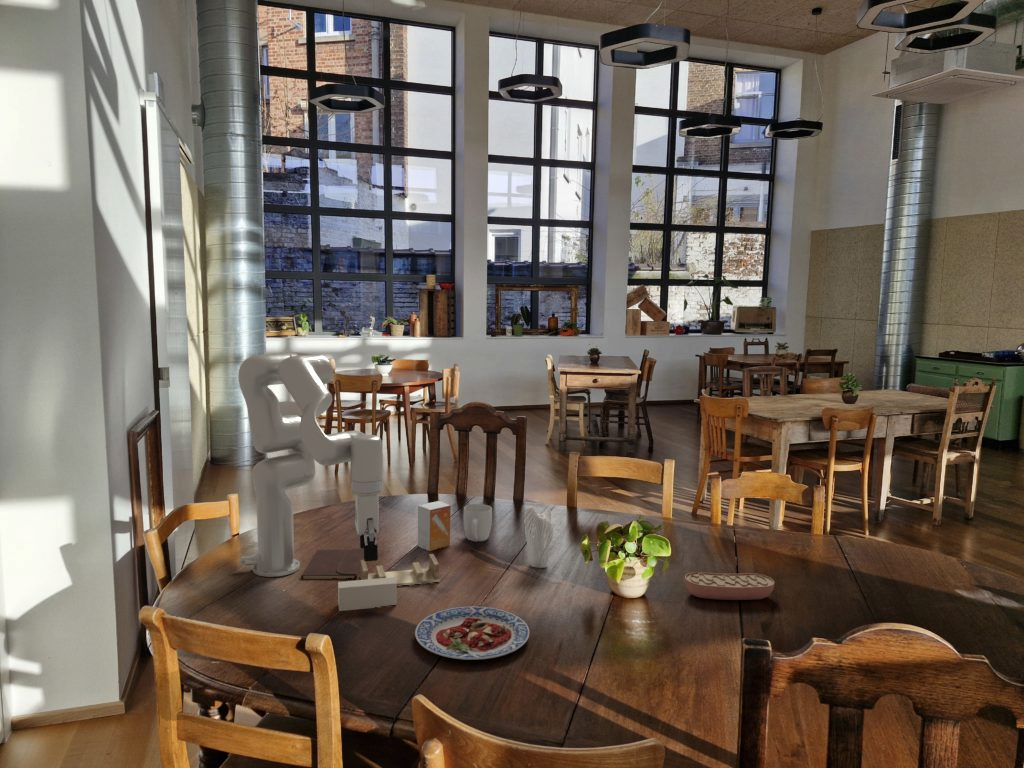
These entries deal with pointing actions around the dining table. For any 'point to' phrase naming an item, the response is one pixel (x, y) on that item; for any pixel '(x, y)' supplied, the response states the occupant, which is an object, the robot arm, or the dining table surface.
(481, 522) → the mug
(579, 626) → the dining table surface
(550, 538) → the white fluted vase
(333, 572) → the notebook
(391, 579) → the clay bar
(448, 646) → the ceramic plate
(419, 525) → the small box
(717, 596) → the oval trinket tray
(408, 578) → the rack
